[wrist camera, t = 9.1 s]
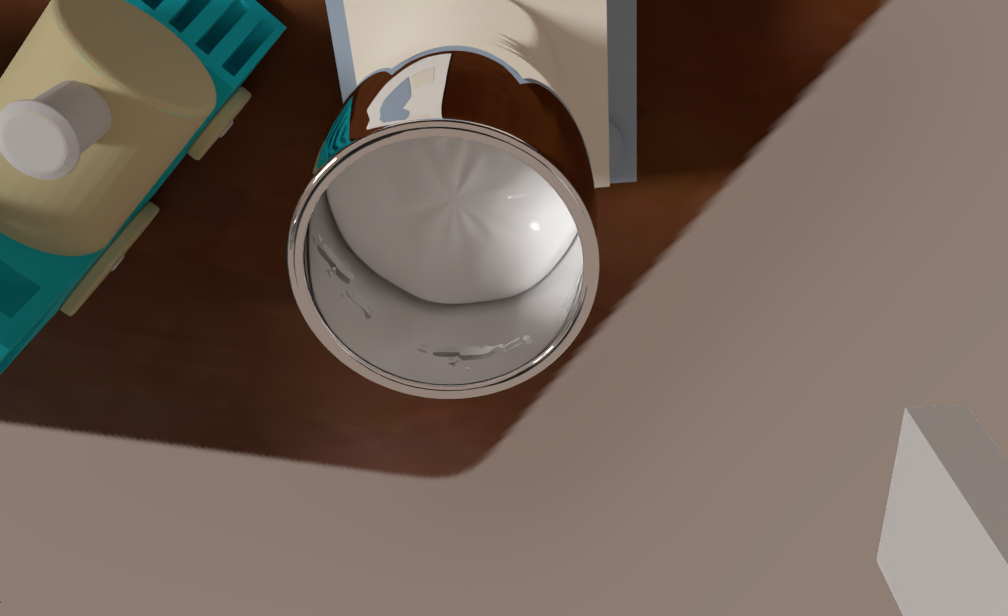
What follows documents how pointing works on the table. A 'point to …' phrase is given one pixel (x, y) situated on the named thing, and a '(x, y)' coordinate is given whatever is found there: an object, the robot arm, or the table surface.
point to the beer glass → (450, 210)
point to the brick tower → (579, 56)
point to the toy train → (107, 136)
